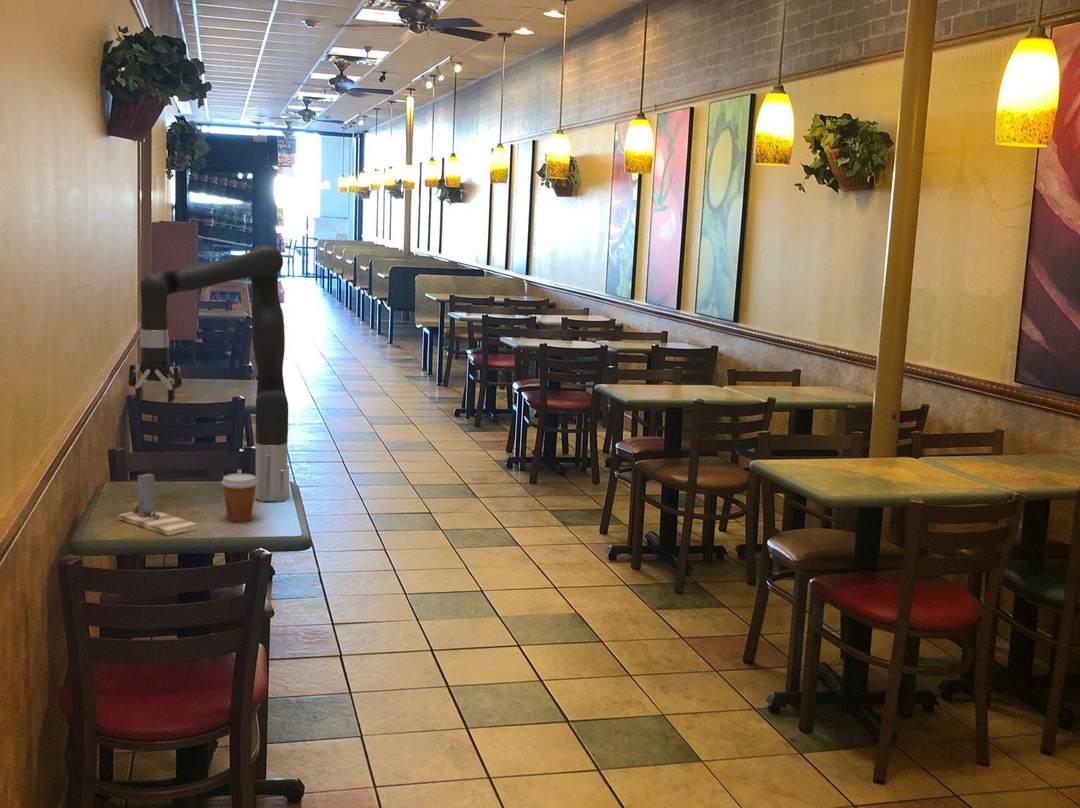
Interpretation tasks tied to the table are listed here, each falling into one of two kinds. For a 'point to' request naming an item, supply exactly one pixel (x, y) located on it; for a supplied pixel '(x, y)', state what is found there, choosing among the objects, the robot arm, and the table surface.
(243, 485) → the disposable coffee cup
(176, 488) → the table surface
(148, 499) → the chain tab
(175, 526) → the rail
